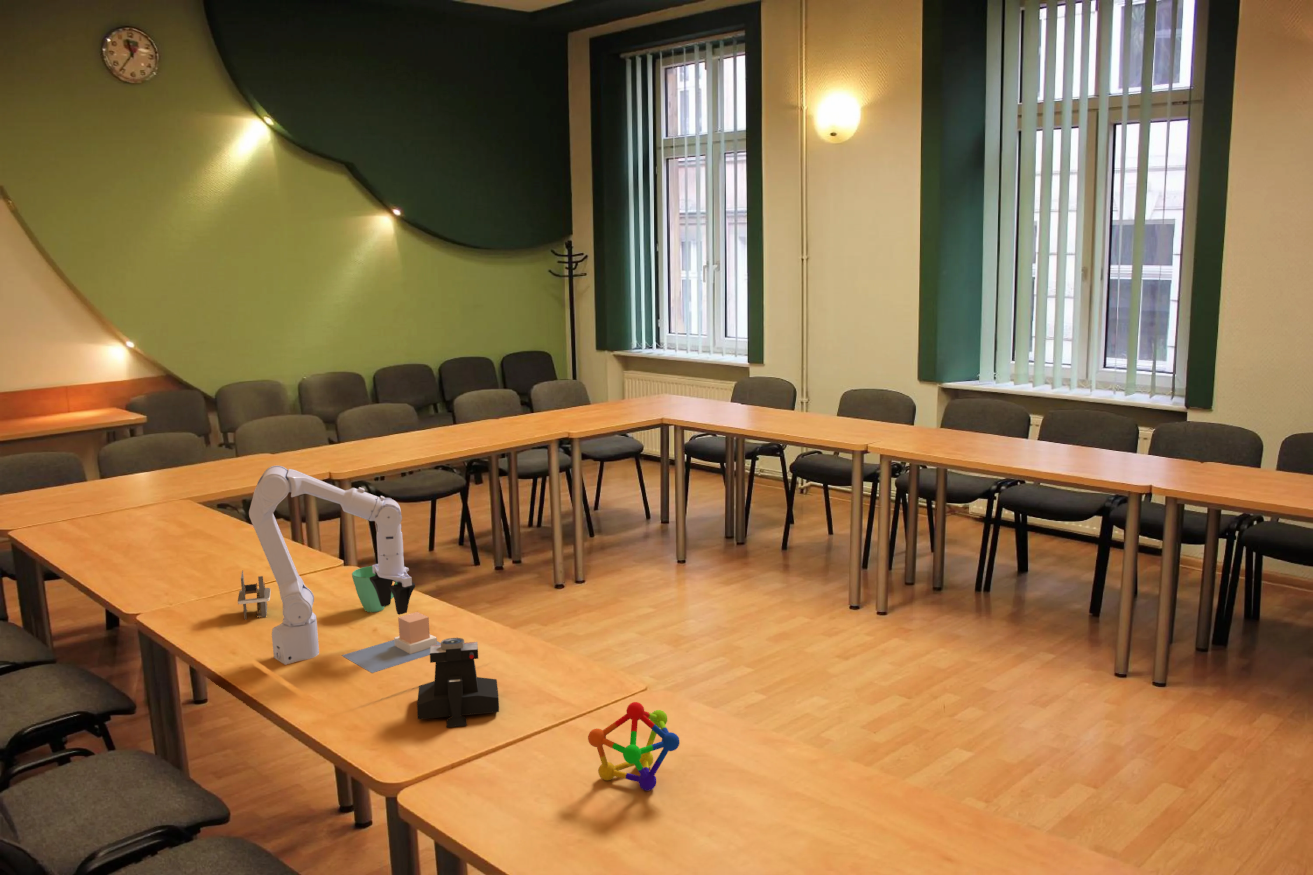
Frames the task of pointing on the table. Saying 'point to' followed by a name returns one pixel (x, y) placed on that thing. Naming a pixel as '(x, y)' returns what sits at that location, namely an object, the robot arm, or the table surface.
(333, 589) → the table surface
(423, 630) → the terracotta block
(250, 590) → the architectural model
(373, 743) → the table surface
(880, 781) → the table surface
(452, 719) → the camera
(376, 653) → the board
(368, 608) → the mug
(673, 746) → the educational toy
